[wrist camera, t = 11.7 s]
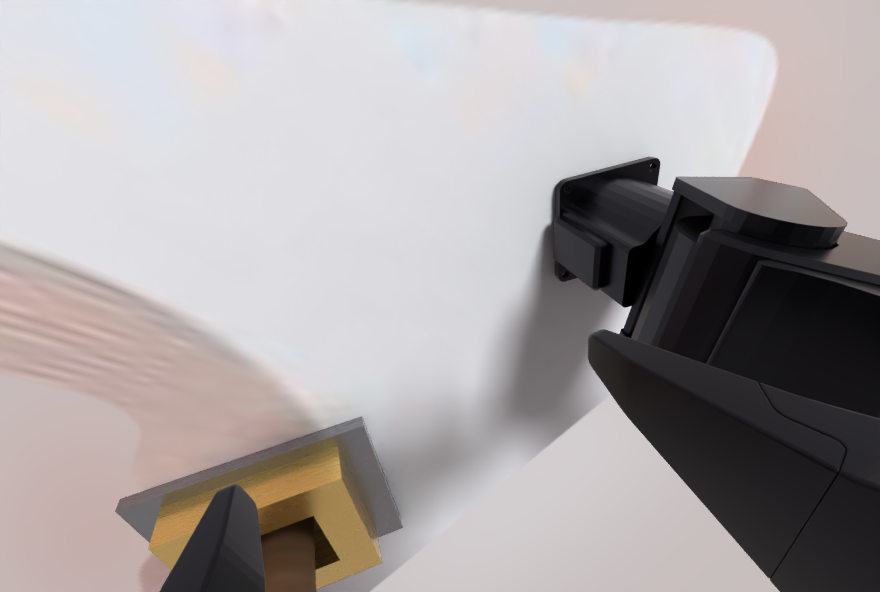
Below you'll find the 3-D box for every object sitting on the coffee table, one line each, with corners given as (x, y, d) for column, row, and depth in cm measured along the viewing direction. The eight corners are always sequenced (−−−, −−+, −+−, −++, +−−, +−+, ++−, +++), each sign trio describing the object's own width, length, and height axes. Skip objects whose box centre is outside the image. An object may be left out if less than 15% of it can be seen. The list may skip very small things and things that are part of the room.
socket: (362, 416, 27) (369, 456, 24) (400, 518, 34) (410, 558, 32) (119, 499, 25) (98, 554, 22) (216, 590, 32) (209, 640, 29)
